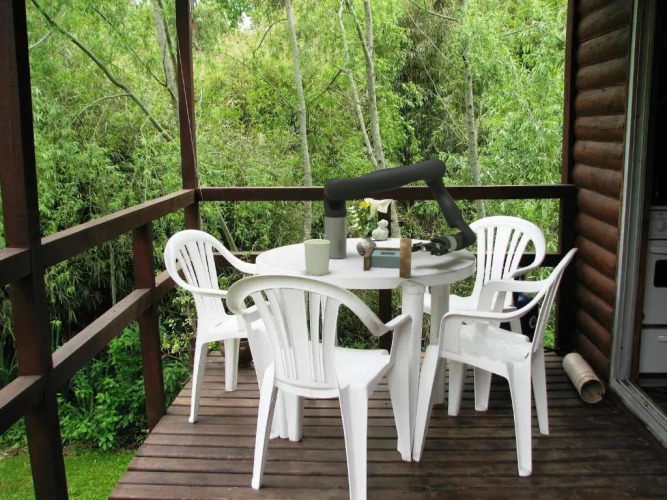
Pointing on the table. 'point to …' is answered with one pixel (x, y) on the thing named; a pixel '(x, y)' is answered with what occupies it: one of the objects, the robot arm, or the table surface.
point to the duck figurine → (381, 231)
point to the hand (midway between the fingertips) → (421, 251)
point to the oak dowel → (405, 258)
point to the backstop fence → (370, 251)
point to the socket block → (385, 259)
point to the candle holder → (317, 256)
